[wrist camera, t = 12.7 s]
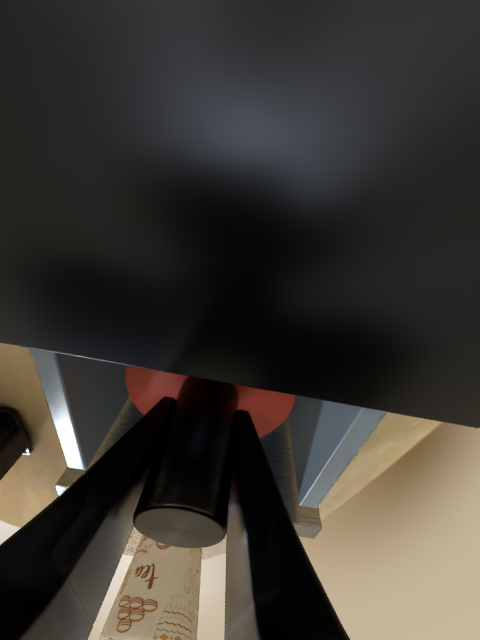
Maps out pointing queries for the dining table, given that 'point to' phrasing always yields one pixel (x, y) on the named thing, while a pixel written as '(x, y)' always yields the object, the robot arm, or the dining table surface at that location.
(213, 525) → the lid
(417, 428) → the dining table surface
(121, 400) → the drawer
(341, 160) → the small cabinet
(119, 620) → the mug
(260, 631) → the robot arm
